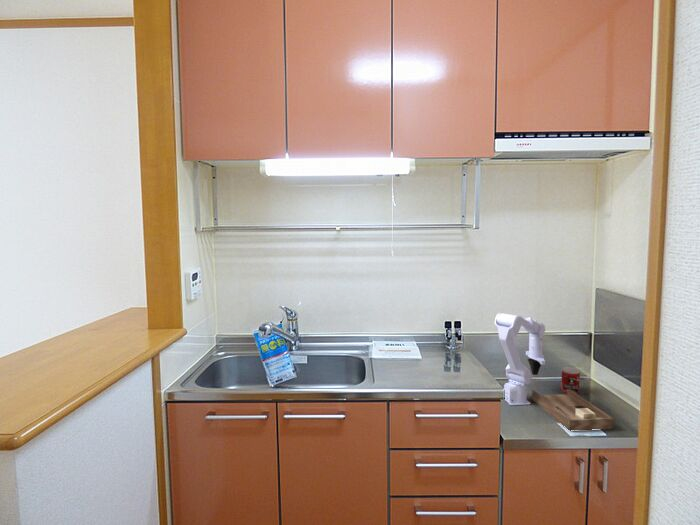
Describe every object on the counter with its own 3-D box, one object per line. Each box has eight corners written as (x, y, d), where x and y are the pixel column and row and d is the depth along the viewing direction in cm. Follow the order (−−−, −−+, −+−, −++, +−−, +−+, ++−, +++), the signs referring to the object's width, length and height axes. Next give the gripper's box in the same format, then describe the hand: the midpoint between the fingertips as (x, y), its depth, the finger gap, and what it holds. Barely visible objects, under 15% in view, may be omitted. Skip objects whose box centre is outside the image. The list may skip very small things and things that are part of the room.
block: (583, 423, 160) (583, 414, 159) (575, 417, 164) (575, 408, 164) (595, 423, 160) (595, 413, 159) (587, 417, 165) (587, 408, 164)
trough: (569, 431, 158) (570, 420, 157) (531, 399, 186) (532, 390, 186) (613, 429, 159) (613, 418, 158) (568, 398, 188) (569, 388, 187)
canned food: (562, 393, 193) (562, 371, 192) (560, 387, 200) (561, 366, 199) (580, 396, 190) (581, 373, 189) (577, 389, 197) (578, 367, 196)
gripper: (552, 351, 185) (551, 379, 186) (535, 342, 199) (535, 368, 200) (537, 351, 184) (536, 380, 185) (521, 342, 199) (521, 369, 200)
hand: (534, 374), depth 193 cm, fingers closed
